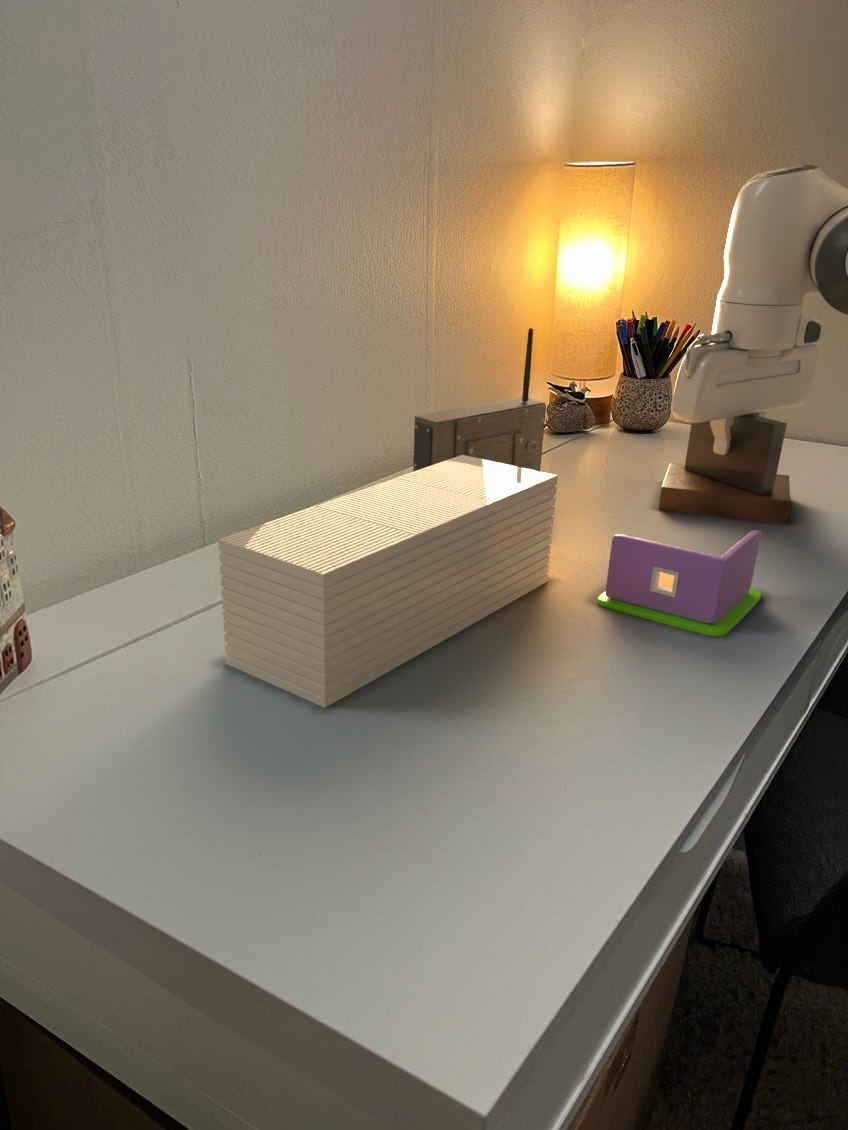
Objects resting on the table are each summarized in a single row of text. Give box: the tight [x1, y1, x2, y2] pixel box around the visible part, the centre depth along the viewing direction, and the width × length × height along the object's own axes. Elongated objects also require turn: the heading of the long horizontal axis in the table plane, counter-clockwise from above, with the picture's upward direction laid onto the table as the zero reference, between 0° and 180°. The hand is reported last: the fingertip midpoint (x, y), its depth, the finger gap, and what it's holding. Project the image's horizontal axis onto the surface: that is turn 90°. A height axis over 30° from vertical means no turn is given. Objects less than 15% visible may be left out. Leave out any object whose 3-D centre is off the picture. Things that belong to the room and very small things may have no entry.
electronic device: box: [412, 327, 547, 472], centre depth 109 cm, size 17×7×20 cm, turn 128°
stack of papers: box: [217, 455, 559, 708], centre depth 82 cm, size 32×11×11 cm, turn 140°
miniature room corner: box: [596, 529, 762, 637], centre depth 87 cm, size 12×12×7 cm
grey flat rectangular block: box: [684, 414, 788, 495], centre depth 112 cm, size 12×2×8 cm, turn 28°
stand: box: [657, 462, 791, 525], centre depth 115 cm, size 14×11×3 cm
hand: (732, 451), depth 112 cm, fingers closed on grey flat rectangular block, 2 cm apart
